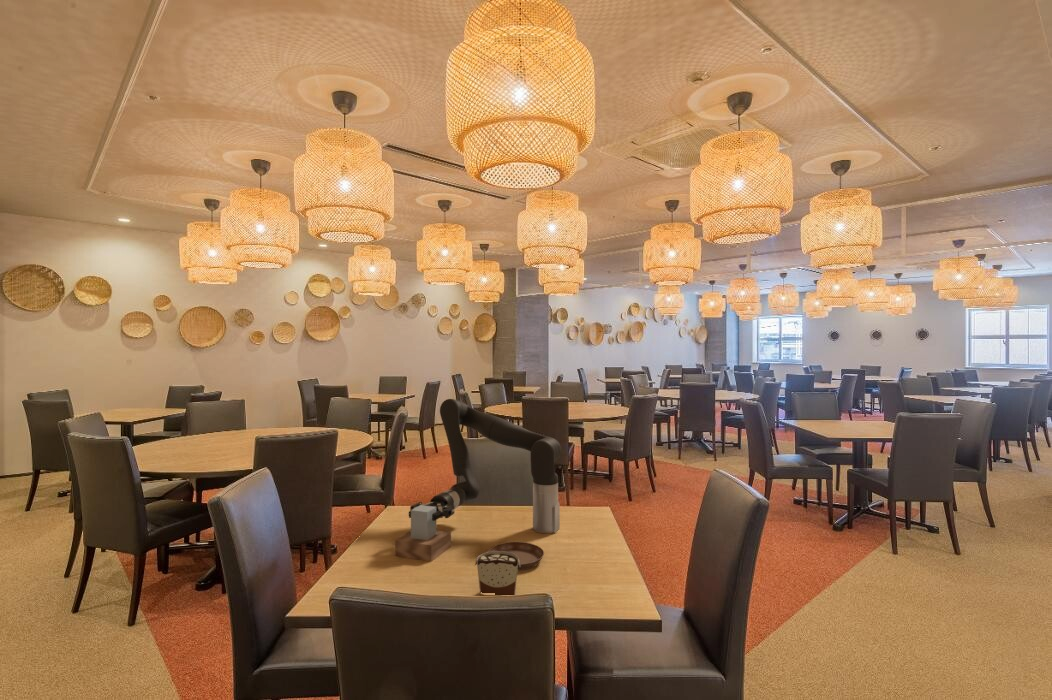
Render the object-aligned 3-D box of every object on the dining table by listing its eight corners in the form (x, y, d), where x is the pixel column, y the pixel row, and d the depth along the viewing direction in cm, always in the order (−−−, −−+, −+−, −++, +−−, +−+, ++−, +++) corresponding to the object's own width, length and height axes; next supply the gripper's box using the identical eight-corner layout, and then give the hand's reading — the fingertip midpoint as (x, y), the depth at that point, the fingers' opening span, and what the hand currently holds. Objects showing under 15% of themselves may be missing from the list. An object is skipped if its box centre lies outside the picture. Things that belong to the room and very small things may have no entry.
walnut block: (450, 546, 179) (450, 532, 179) (431, 561, 167) (431, 545, 167) (416, 542, 184) (416, 527, 184) (395, 556, 171) (395, 540, 171)
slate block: (436, 534, 177) (436, 506, 177) (427, 540, 172) (427, 512, 172) (420, 532, 179) (420, 505, 179) (410, 538, 174) (410, 510, 174)
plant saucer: (532, 577, 157) (532, 566, 157) (478, 568, 163) (478, 558, 163) (551, 555, 173) (551, 545, 173) (500, 548, 179) (500, 539, 179)
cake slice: (522, 586, 150) (522, 551, 150) (520, 597, 143) (520, 559, 143) (479, 584, 151) (479, 549, 151) (474, 594, 145) (474, 557, 145)
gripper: (427, 490, 191) (402, 502, 176) (463, 493, 187) (441, 506, 171) (427, 511, 191) (402, 525, 176) (463, 515, 187) (441, 530, 171)
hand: (421, 516), depth 174 cm, fingers open, 8 cm apart
